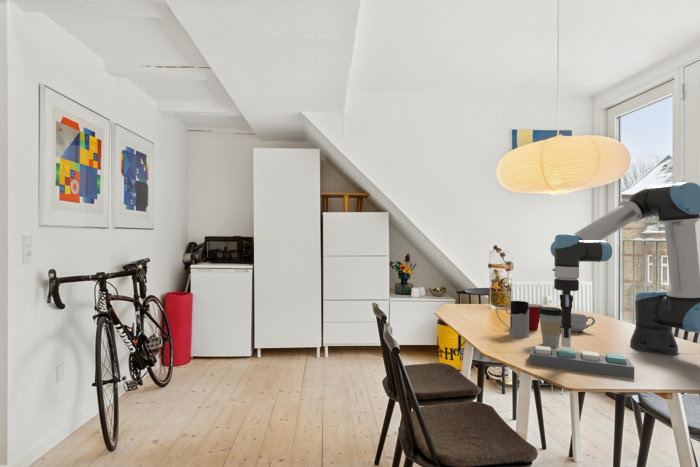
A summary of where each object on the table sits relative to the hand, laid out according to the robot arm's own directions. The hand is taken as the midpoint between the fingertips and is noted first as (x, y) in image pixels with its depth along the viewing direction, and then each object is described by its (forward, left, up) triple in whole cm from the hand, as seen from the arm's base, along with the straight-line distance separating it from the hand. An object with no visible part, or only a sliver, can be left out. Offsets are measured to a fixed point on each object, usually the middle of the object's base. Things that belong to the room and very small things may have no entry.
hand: (565, 346), depth 137 cm
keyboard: (-4, 0, -6) cm, 7 cm away
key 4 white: (+7, 0, -4) cm, 8 cm away
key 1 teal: (-15, 0, -4) cm, 15 cm away
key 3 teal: (0, 0, -4) cm, 4 cm away
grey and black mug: (+19, -37, -7) cm, 42 cm away
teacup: (-8, -59, -7) cm, 60 cm away
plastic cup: (+12, -54, -7) cm, 56 cm away
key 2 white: (-7, 0, -4) cm, 8 cm away
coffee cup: (+4, -26, -7) cm, 27 cm away
